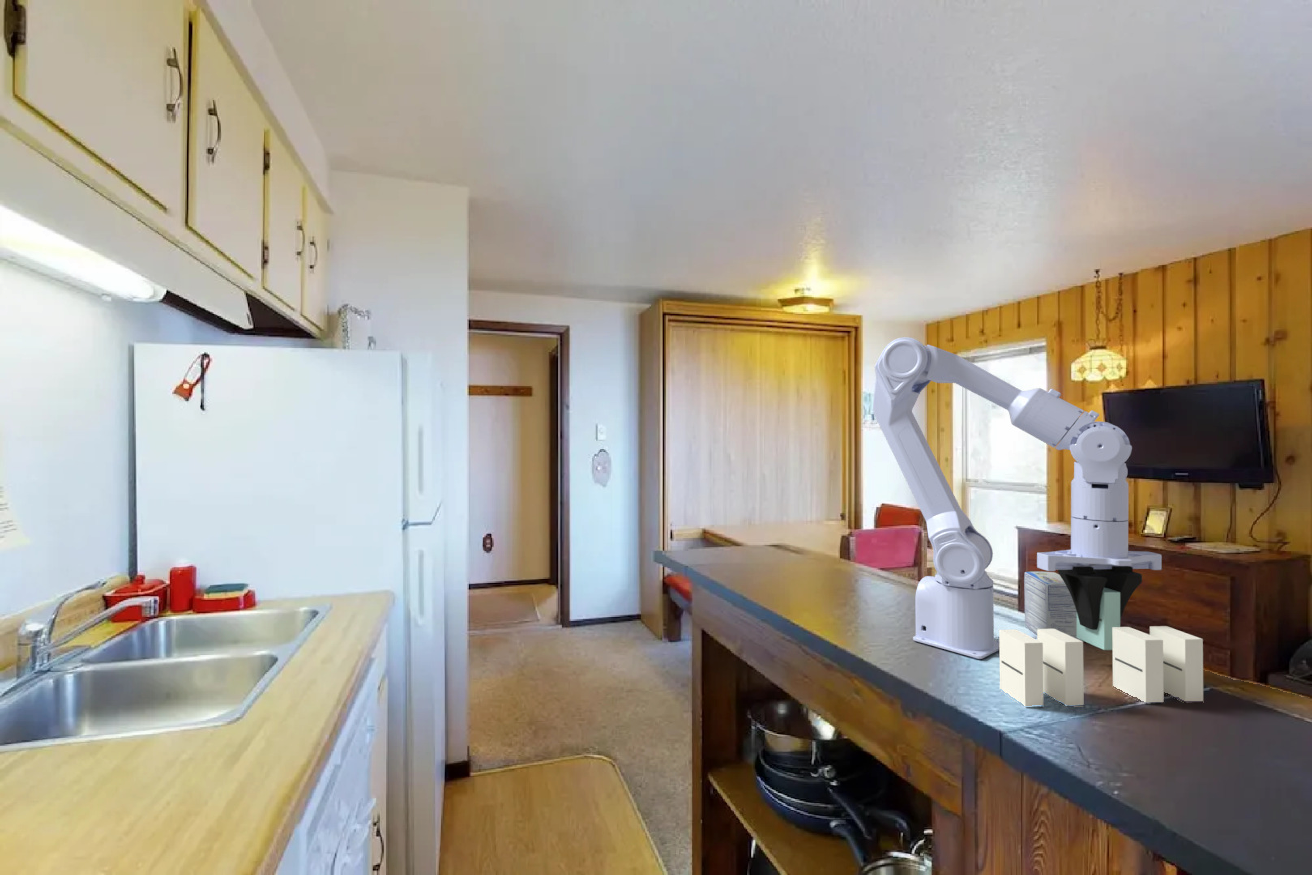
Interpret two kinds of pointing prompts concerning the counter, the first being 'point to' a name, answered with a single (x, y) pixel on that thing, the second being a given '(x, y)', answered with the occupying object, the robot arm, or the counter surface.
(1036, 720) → the counter surface
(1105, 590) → the domino
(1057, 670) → the domino
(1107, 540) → the robot arm
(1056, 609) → the medicine box
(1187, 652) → the domino
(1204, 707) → the counter surface
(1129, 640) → the domino
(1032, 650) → the domino
